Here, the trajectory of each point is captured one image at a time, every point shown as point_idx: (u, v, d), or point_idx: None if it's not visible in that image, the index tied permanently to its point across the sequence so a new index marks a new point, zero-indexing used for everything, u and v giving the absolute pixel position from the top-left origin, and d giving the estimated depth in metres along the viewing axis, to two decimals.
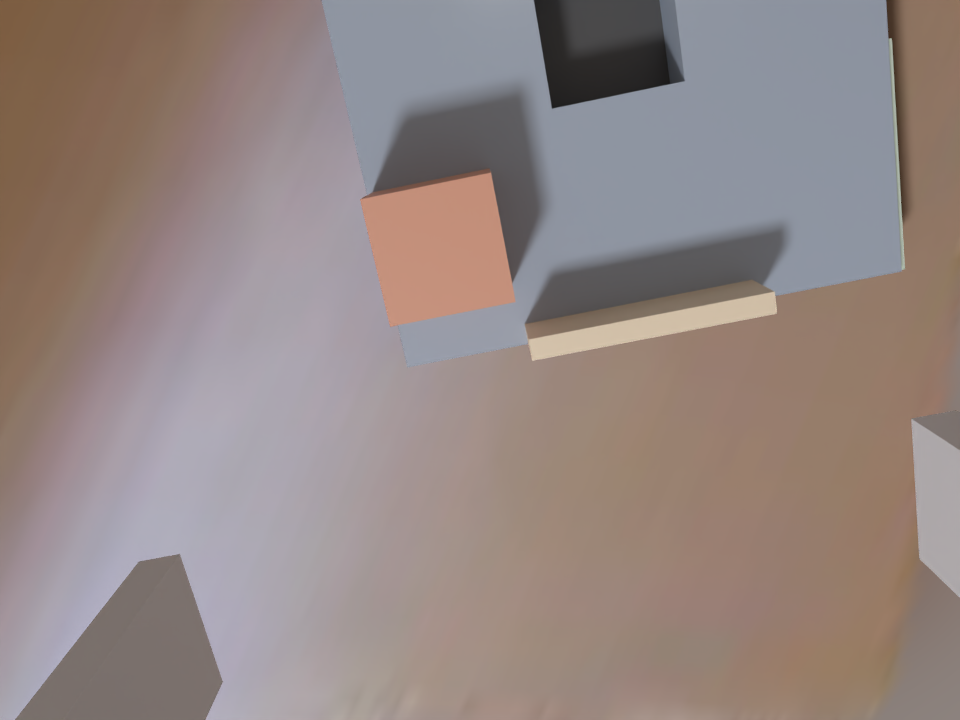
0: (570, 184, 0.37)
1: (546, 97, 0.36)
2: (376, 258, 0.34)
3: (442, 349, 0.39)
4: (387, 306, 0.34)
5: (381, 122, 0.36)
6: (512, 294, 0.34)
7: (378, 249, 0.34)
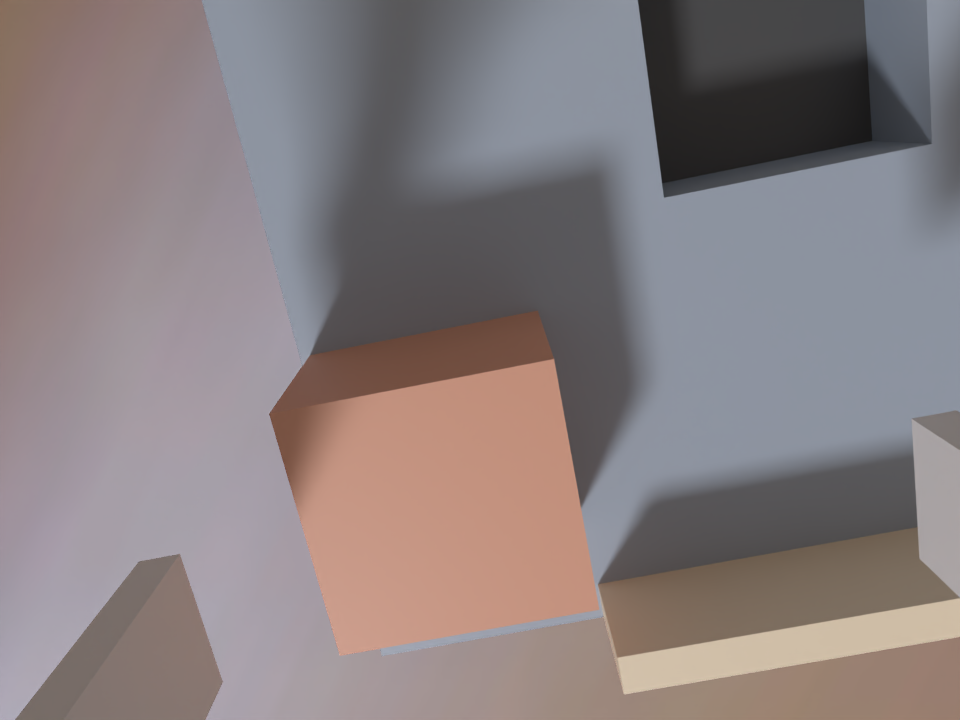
0: (693, 339, 0.19)
1: (654, 176, 0.18)
2: (308, 529, 0.16)
3: None
4: (333, 619, 0.17)
5: (325, 224, 0.18)
6: (593, 596, 0.17)
7: (311, 511, 0.16)
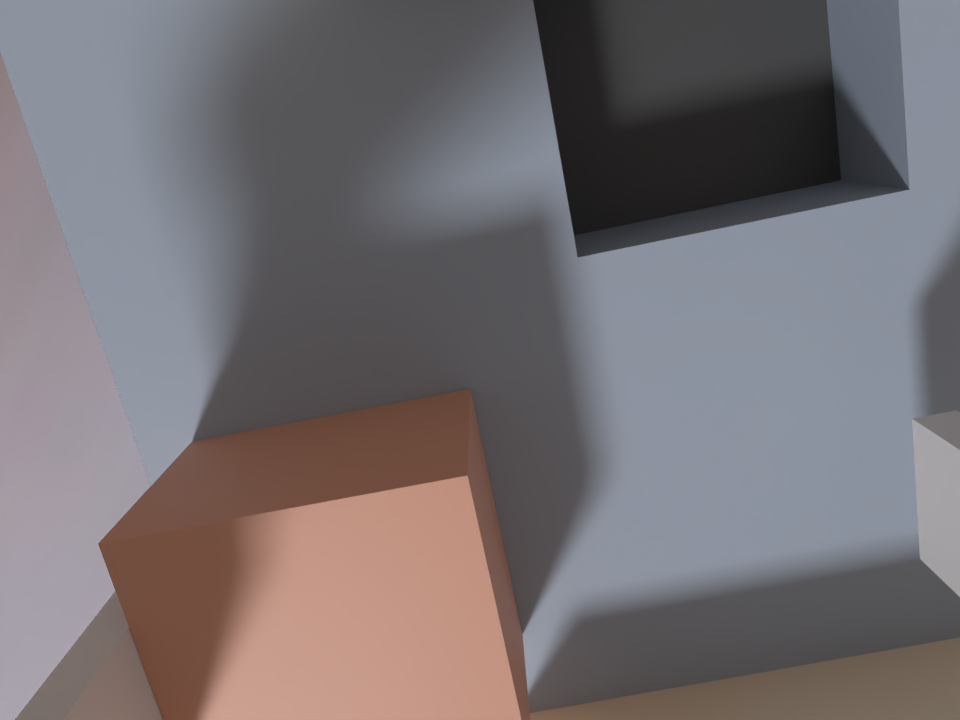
0: (620, 428, 0.16)
1: (564, 231, 0.15)
2: (157, 685, 0.12)
3: None
4: None
5: (159, 292, 0.15)
6: None
7: (160, 664, 0.12)
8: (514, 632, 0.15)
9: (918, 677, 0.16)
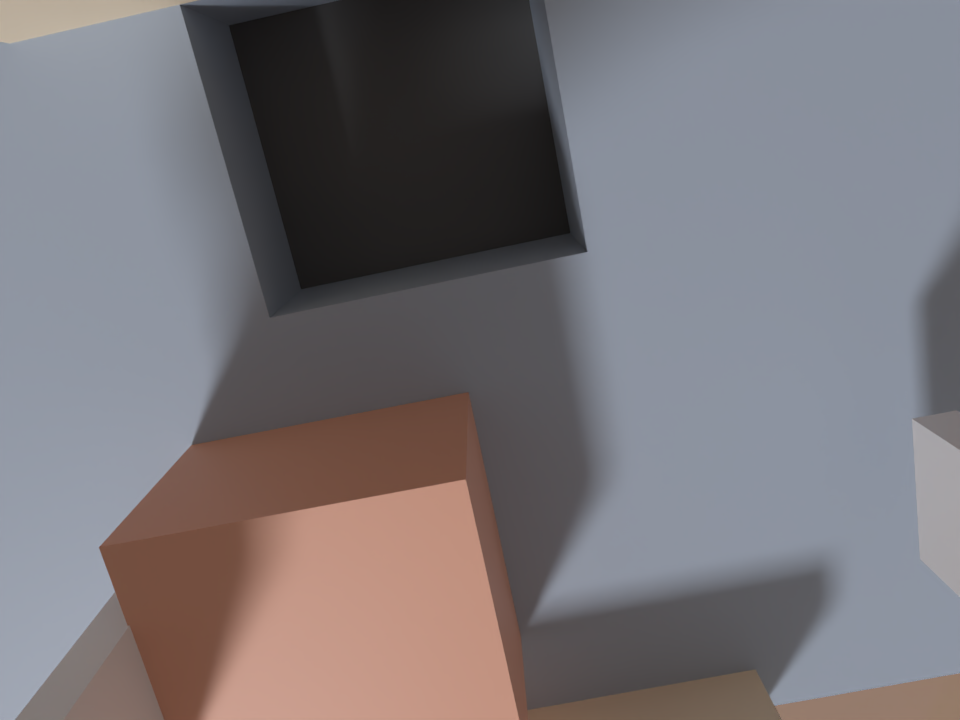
0: None
1: (253, 292, 0.15)
2: (157, 688, 0.13)
3: None
4: None
5: None
6: None
7: (161, 667, 0.12)
8: (512, 634, 0.15)
9: None
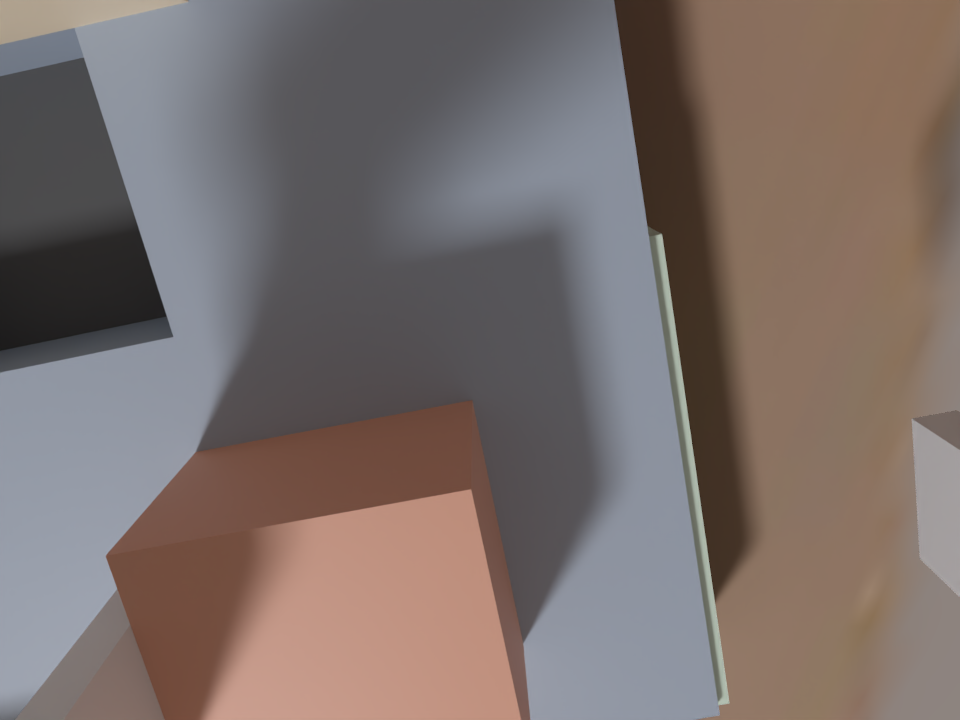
0: None
1: None
2: (162, 696, 0.13)
3: None
4: None
5: None
6: None
7: (166, 675, 0.12)
8: (515, 642, 0.15)
9: None
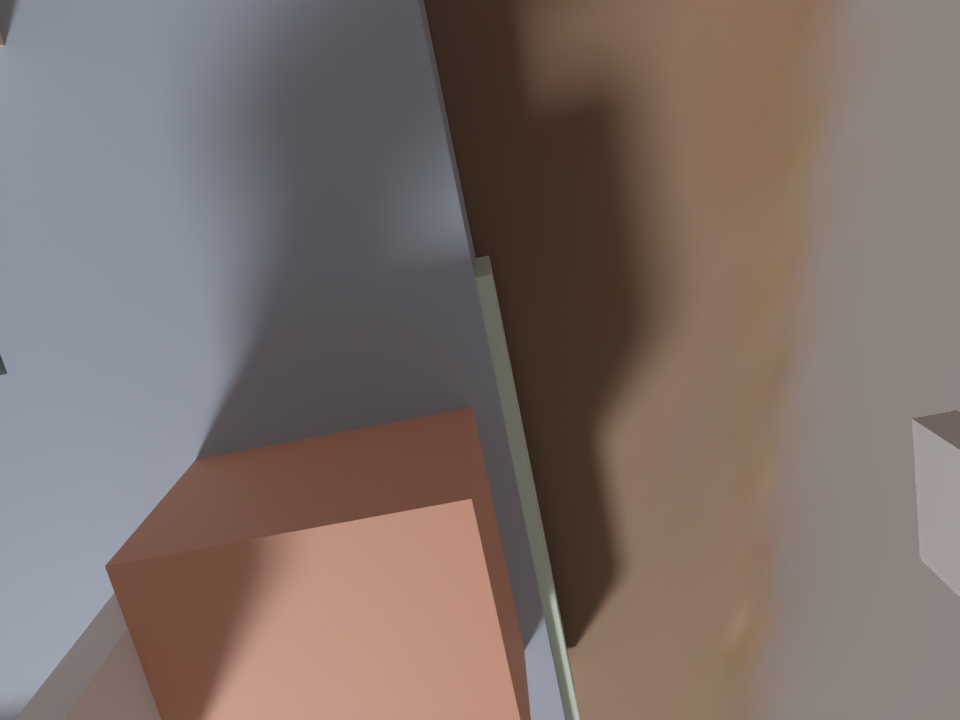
0: None
1: None
2: (162, 706, 0.13)
3: None
4: None
5: None
6: None
7: (166, 685, 0.12)
8: (516, 650, 0.15)
9: None
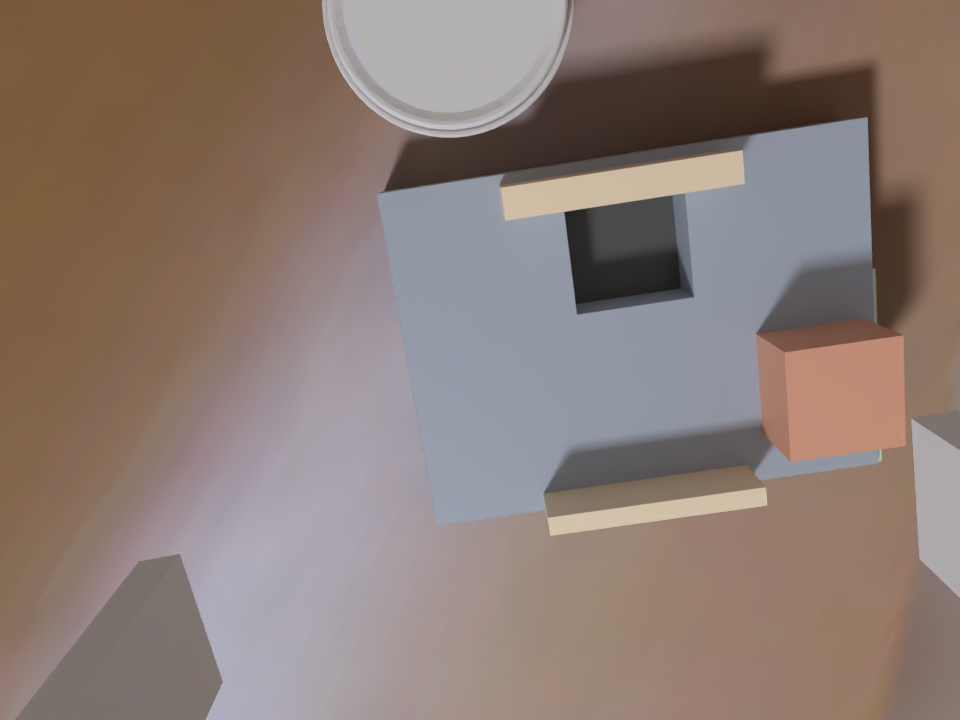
0: (589, 378, 0.42)
1: (572, 305, 0.41)
2: (789, 403, 0.38)
3: (468, 511, 0.44)
4: (791, 444, 0.39)
5: (426, 319, 0.41)
6: (904, 439, 0.39)
7: (792, 395, 0.38)
8: None
9: (698, 479, 0.42)
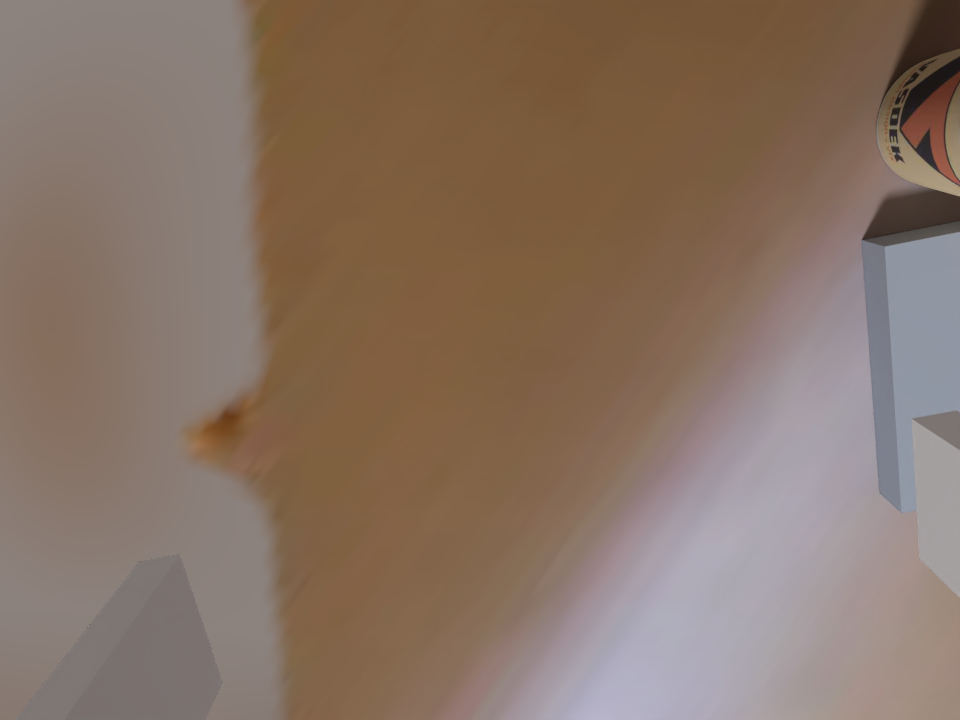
0: None
1: None
2: None
3: None
4: None
5: (913, 345, 0.50)
6: None
7: None
8: None
9: None
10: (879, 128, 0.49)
